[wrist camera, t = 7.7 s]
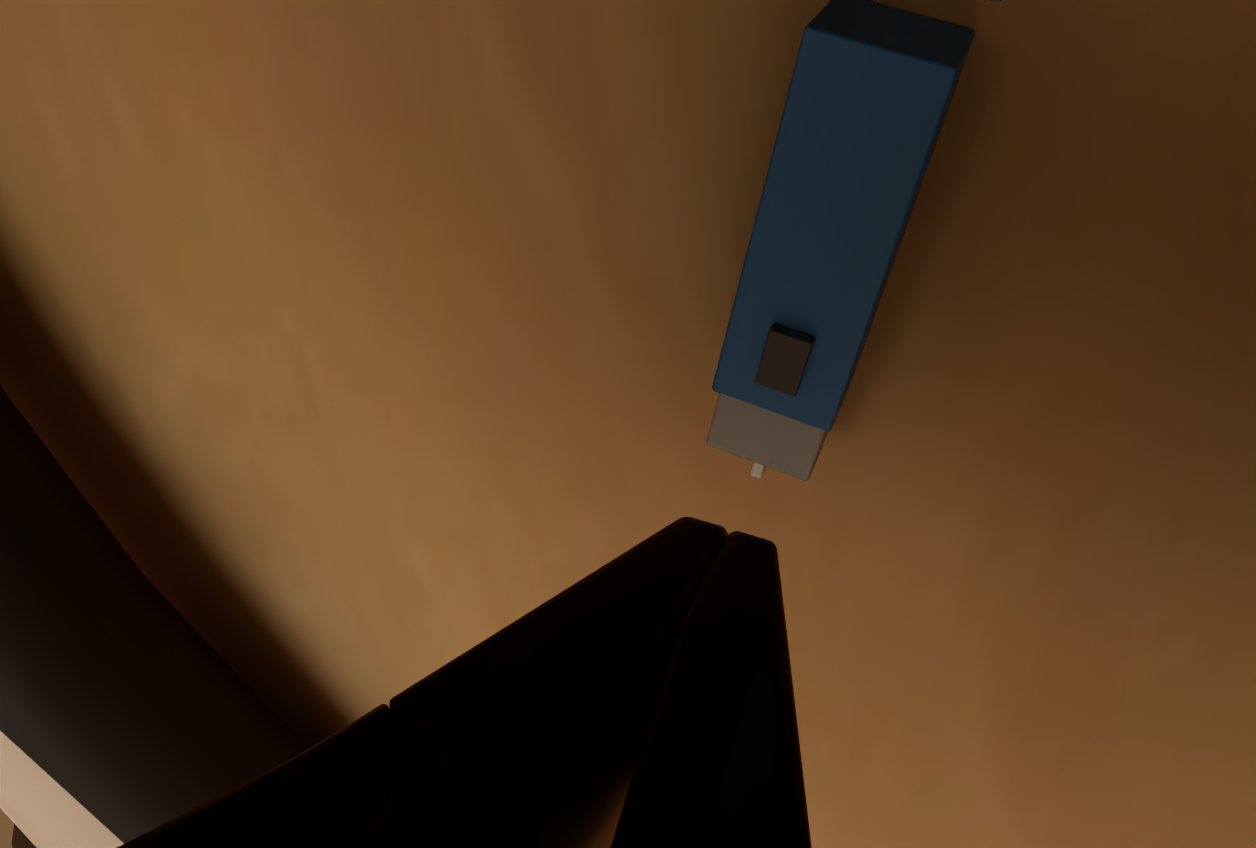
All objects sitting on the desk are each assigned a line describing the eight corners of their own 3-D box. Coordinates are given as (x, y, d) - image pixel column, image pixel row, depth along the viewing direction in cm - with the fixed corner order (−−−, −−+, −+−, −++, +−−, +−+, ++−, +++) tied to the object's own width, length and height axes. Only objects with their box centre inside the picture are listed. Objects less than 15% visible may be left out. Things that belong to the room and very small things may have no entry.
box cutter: (837, -9, 18) (799, 30, 16) (976, 29, 18) (956, 74, 16) (720, 425, 24) (681, 495, 22) (822, 463, 23) (792, 538, 21)
